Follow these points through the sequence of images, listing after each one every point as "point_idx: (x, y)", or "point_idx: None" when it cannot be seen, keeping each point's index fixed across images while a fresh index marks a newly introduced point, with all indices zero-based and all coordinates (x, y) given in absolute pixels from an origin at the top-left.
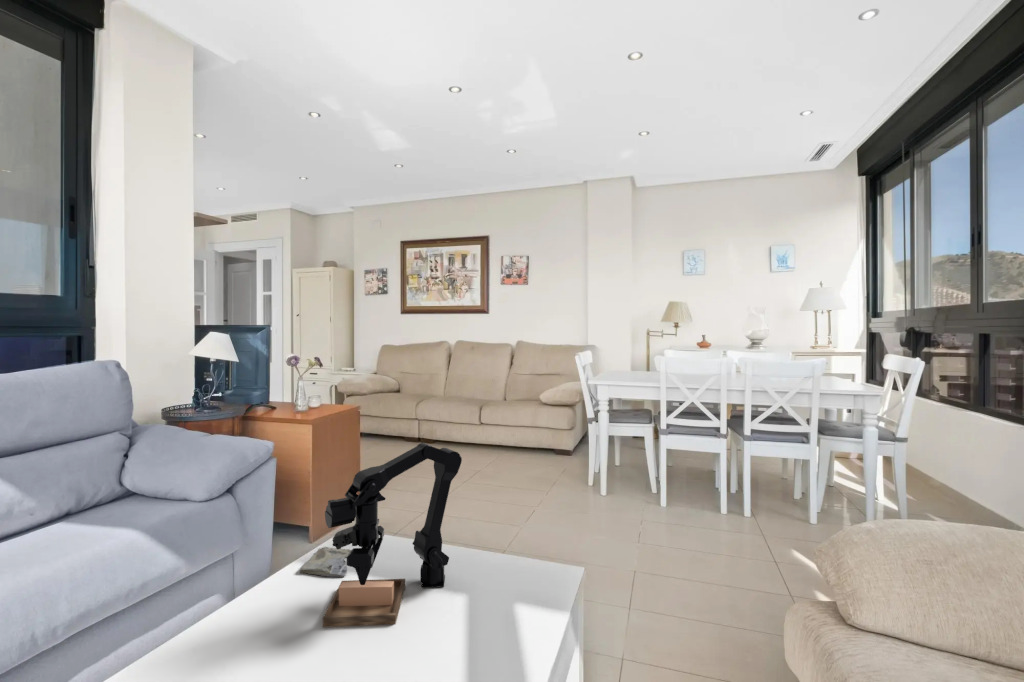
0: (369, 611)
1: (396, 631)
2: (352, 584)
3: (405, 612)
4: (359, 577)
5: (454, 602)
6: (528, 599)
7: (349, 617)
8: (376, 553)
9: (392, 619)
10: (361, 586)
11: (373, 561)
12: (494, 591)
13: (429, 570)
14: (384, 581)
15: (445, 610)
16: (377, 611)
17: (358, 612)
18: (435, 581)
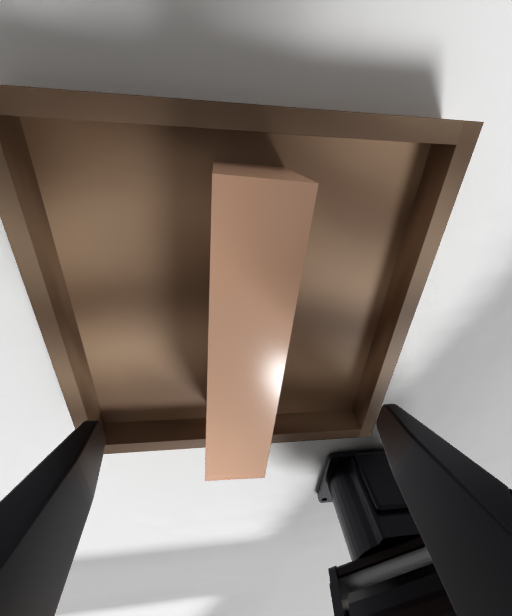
0: (156, 335)
1: (52, 431)
2: (254, 282)
3: None
4: (8, 506)
5: (229, 523)
6: (228, 607)
7: (25, 276)
8: (444, 578)
9: None
10: (220, 347)
11: (399, 481)
12: (271, 570)
13: (352, 532)
14: (267, 445)
15: (188, 513)
16: (159, 364)
17: (147, 288)
18: (332, 498)
